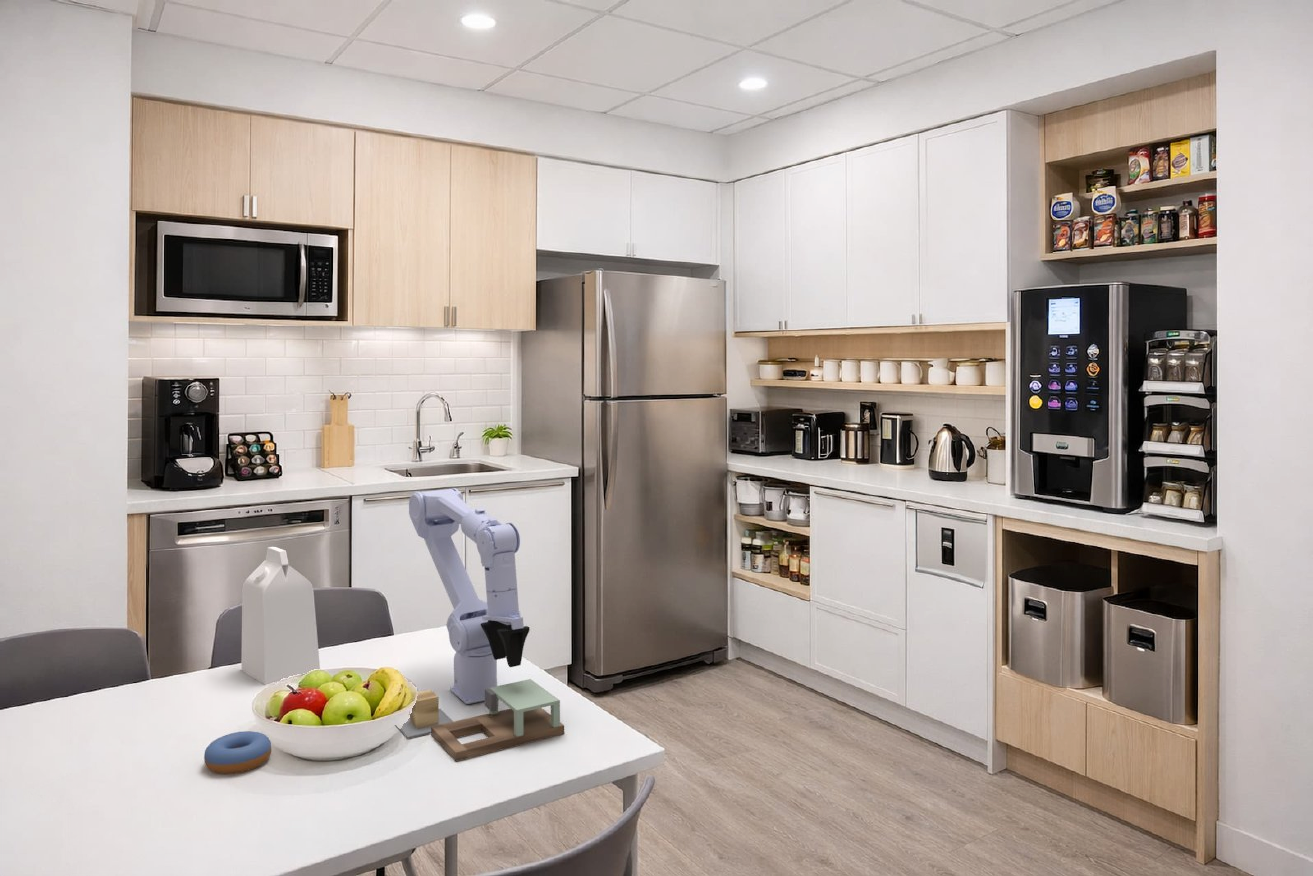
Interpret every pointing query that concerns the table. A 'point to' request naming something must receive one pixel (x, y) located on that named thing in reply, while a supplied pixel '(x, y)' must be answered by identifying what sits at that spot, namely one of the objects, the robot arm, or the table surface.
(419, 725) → the block
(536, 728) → the board
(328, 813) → the table surface
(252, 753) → the doughnut
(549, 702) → the cover
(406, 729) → the mat
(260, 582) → the milk
